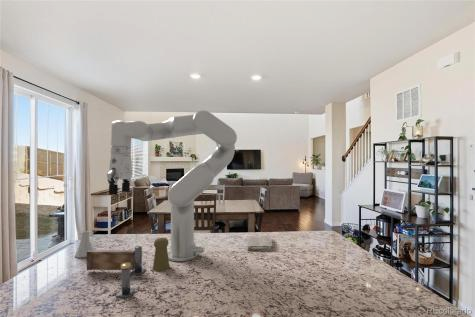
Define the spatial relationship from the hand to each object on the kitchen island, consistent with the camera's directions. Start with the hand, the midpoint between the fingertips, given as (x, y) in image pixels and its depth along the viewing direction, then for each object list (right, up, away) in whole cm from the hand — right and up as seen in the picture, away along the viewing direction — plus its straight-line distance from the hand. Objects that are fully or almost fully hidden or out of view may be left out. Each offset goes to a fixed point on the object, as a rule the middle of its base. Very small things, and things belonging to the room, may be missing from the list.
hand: (119, 193), depth 103 cm
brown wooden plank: (+3, -26, -12) cm, 29 cm away
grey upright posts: (+14, -27, -20) cm, 36 cm away
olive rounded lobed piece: (+20, -27, -9) cm, 35 cm away
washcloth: (+59, -28, +17) cm, 67 cm away
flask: (-17, -27, +5) cm, 33 cm away
